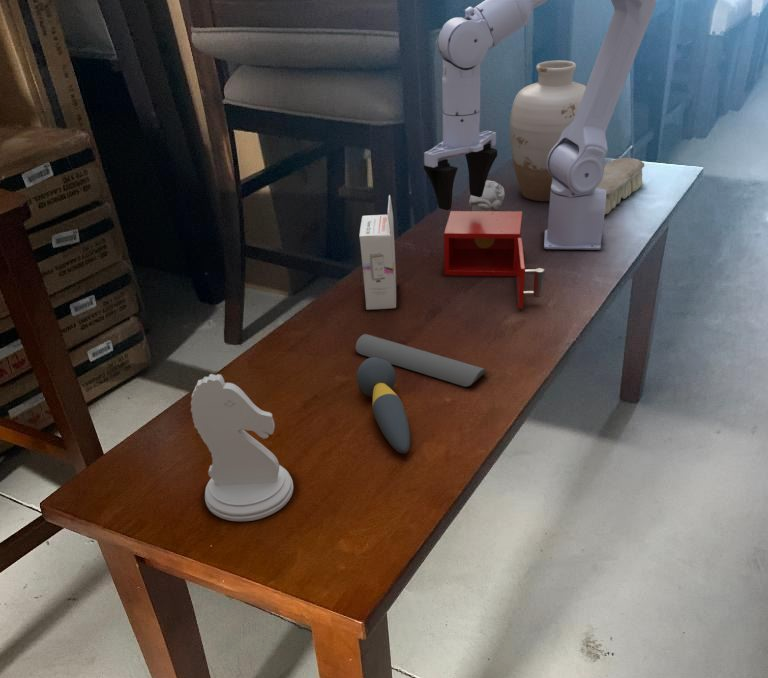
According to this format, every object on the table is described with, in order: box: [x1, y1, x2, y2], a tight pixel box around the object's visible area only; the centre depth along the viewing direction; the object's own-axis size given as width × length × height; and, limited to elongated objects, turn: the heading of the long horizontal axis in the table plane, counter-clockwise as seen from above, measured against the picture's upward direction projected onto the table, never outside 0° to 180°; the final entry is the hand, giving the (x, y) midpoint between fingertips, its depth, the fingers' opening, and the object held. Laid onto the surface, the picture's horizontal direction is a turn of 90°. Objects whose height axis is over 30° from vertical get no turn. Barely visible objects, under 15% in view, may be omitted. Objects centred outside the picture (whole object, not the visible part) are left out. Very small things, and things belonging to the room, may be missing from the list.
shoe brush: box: [596, 157, 645, 215], centre depth 148 cm, size 24×8×5 cm, turn 147°
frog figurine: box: [468, 179, 505, 211], centre depth 143 cm, size 6×7×7 cm
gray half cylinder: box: [355, 333, 487, 387], centre depth 105 cm, size 4×20×2 cm, turn 54°
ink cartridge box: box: [358, 194, 397, 311], centre depth 118 cm, size 9×5×15 cm, turn 179°
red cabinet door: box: [515, 237, 546, 309], centre depth 118 cm, size 12×4×6 cm, turn 175°
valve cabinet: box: [443, 210, 523, 277], centre depth 128 cm, size 12×10×7 cm
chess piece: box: [190, 373, 294, 522], centre depth 81 cm, size 10×10×15 cm
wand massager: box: [356, 357, 411, 454], centre depth 95 cm, size 20×5×5 cm, turn 17°
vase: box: [509, 59, 587, 202], centre depth 147 cm, size 16×16×23 cm
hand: (460, 202), depth 126 cm, fingers open, 7 cm apart
